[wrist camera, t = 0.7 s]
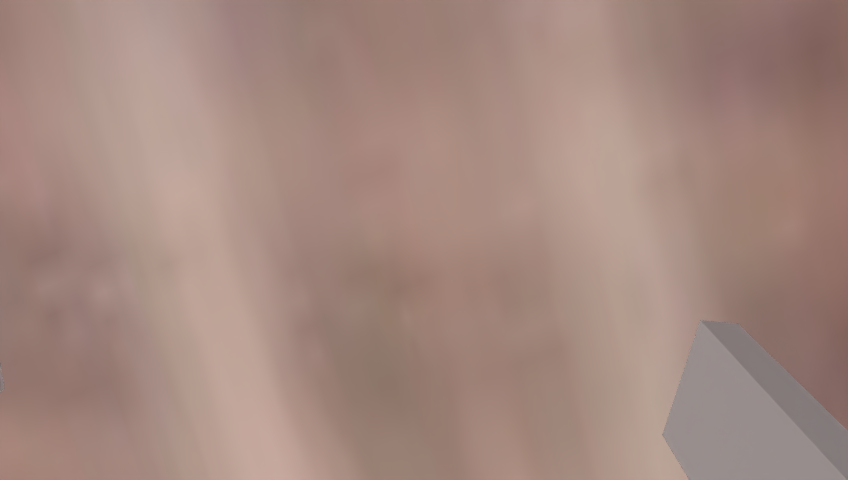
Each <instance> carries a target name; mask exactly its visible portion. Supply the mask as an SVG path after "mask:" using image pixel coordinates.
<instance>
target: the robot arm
mask: <svg viewBox="0 0 848 480" xmlns="http://www.w3.org/2000/svg"><path fill="white" fill-rule="evenodd" d="M3 389H4V382H3V376H2V370H1V364H0V392H1V391H2V390H3ZM662 435H663V437H664V438H665V440H666V442H667V443H668V445H669V447H670V449H671V450H672V452H673V454H674V455H675V457H676V459H677V460H678V462H679V464H680V465H681V467H682V469H683V470H684V472H685V474H686V475H687V477H688V479H689V480H848V431H847V430H846V429H845V428H844V427H843V426H842V425H841V424H840V423H839V422H838V421H837V420H836V419H835V418H834V417H833V416H832V415H831V414H830V413H829V412H828V411H827V410H826V409H825V408H824V407H823V406H822V405H821V404H820V403H819V402H818V401H817V400H816V399H815V398H814V397H813V396H812V395H811V394H810V393H809V392H808V391H807V390H805V389H804V388H803V387H802V386H801V385H800V384H799V383H798V382H797V381H796V380H795V379H794V378H793V377H792V376H791V375H790V374H789V373H788V372H787V371H786V370H785V369H784V368H783V367H782V366H781V365H780V364H779V363H778V362H777V361H776V360H775V359H774V358H773V357H772V356H771V355H770V354H769V353H768V352H767V351H766V350H765V349H764V348H763V347H762V346H761V345H760V344H759V343H758V342H756V341H755V340H754V339H753V338H752V337H751V336H750V335H749V334H748V333H747V332H746V331H745V330H744V329H743V328H742V327H741V326H740V325H739V324H738V323H727V322H715V321H704V320H700V323H699V326H698V329H697V332H696V335H695V338H694V341H693V344H692V347H691V350H690V353H689V356H688V359H687V362H686V365H685V368H684V371H683V374H682V377H681V380H680V383H679V386H678V389H677V392H676V395H675V398H674V401H673V404H672V407H671V410H670V413H669V416H668V419H667V422H666V425H665V428H664V431H663V434H662Z"/></svg>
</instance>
